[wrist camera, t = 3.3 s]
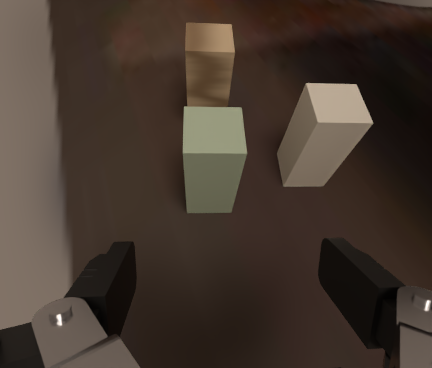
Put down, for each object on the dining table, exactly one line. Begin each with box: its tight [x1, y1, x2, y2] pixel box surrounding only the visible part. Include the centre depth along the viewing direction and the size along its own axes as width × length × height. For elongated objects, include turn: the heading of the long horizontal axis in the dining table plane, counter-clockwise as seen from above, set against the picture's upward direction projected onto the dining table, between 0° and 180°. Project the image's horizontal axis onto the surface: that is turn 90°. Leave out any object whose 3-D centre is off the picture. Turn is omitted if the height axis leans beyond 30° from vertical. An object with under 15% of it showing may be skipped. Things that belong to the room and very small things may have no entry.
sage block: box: [183, 107, 247, 213], centre depth 25 cm, size 4×4×10 cm
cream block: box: [277, 83, 373, 187], centre depth 27 cm, size 4×4×10 cm
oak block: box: [185, 23, 235, 107], centre depth 31 cm, size 4×4×10 cm
